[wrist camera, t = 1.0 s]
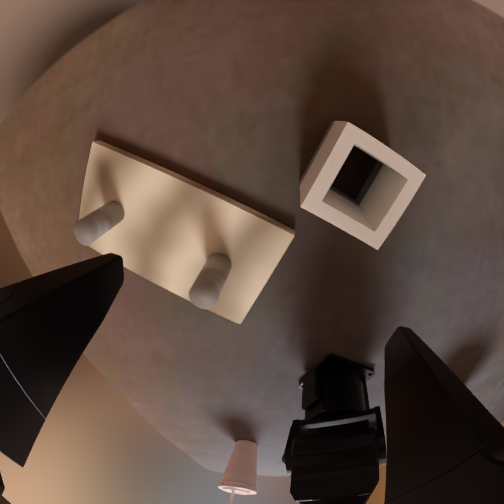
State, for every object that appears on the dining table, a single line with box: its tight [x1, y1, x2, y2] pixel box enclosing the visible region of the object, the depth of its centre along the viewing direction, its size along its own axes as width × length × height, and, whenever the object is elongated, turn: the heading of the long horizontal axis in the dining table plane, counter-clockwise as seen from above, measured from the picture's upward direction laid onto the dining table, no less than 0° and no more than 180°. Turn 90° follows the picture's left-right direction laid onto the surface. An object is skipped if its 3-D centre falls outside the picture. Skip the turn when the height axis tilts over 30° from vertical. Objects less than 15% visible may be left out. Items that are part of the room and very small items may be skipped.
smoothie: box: [218, 440, 258, 504], centre depth 34 cm, size 6×6×14 cm
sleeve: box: [299, 121, 426, 250], centre depth 16 cm, size 5×5×6 cm
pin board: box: [74, 140, 295, 324], centre depth 20 cm, size 18×10×6 cm, turn 65°
